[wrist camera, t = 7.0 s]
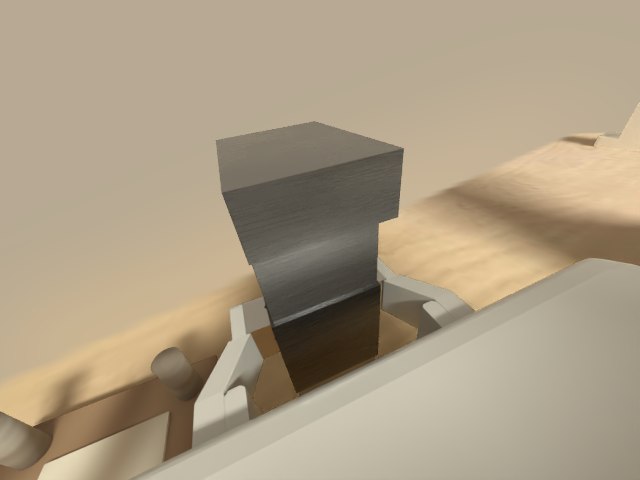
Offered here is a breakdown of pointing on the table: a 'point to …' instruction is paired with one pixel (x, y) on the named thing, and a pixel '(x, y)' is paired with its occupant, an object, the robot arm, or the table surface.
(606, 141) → the cable organizer
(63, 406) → the table surface
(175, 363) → the peg cradle
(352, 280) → the grey rectangular block
